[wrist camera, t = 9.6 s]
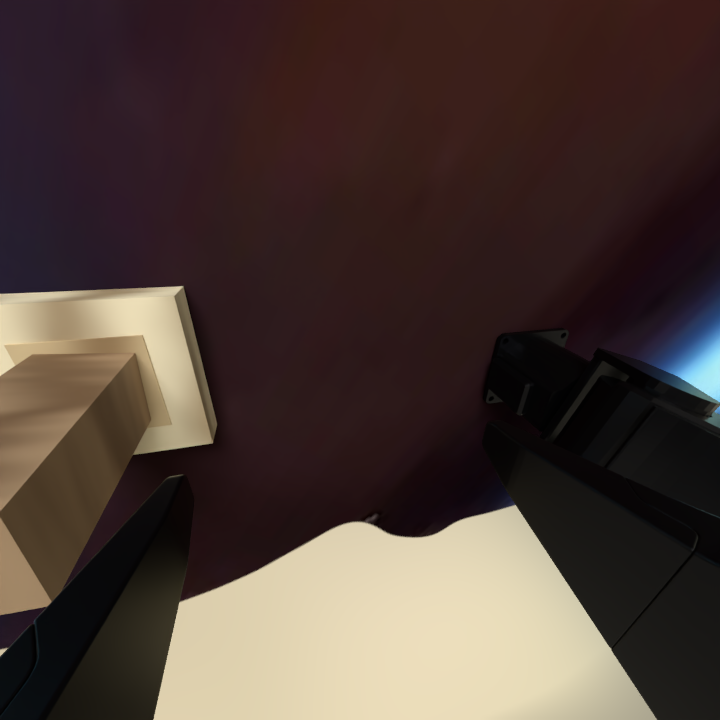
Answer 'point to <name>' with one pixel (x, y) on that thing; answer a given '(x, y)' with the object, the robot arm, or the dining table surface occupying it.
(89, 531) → the walnut block
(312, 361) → the dining table surface
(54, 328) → the plinth
